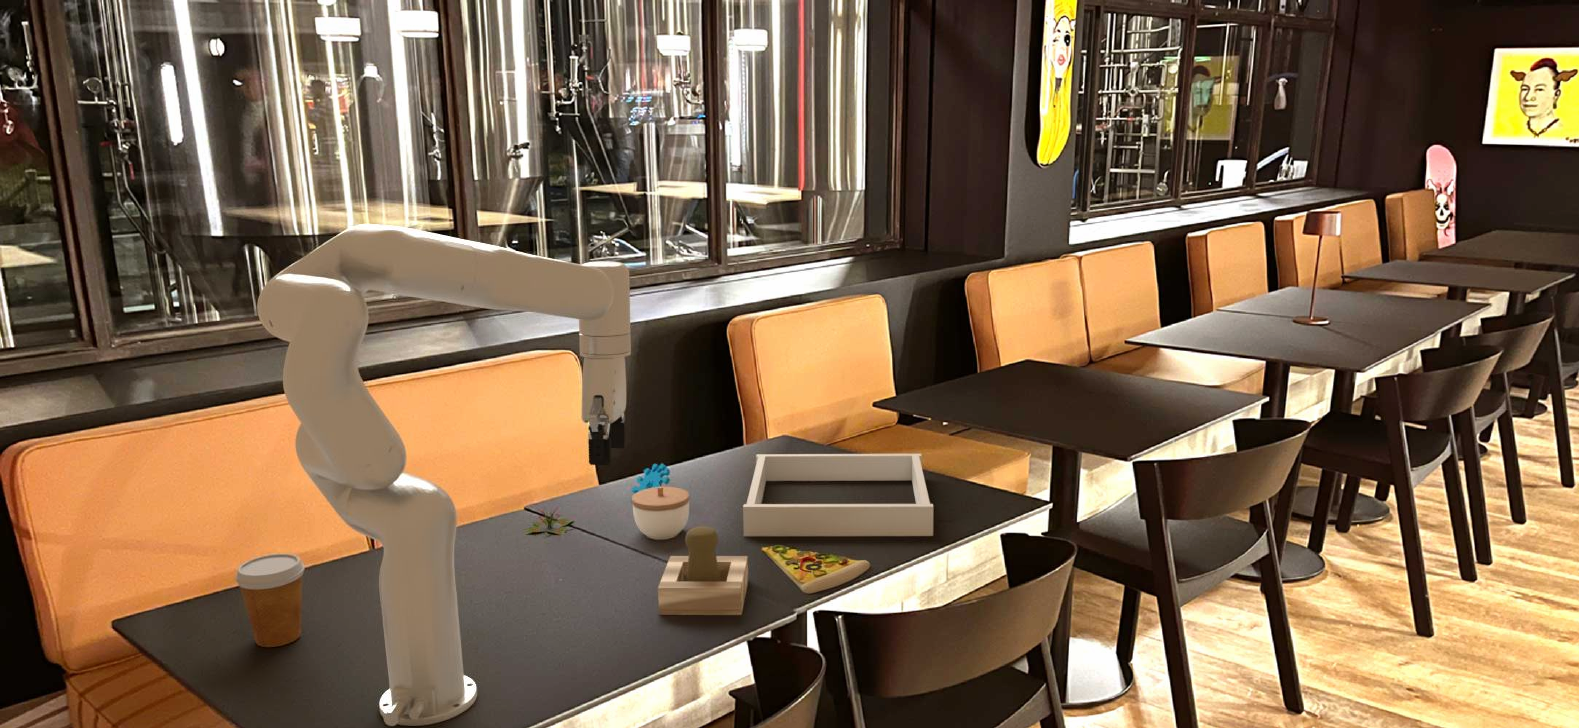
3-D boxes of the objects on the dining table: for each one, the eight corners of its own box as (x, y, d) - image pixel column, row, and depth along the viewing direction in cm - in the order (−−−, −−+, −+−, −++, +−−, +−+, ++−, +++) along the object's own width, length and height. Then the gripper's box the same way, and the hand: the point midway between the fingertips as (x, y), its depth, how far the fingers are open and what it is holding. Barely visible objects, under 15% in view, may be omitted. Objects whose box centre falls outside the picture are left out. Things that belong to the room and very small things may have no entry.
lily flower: (536, 547, 204) (534, 524, 203) (507, 530, 213) (505, 507, 212) (593, 532, 211) (591, 509, 210) (563, 515, 220) (561, 493, 220)
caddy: (741, 615, 173) (740, 588, 172) (659, 614, 174) (657, 588, 173) (748, 581, 186) (747, 556, 185) (671, 581, 187) (670, 556, 186)
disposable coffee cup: (293, 618, 175) (284, 547, 172) (324, 635, 169) (315, 561, 167) (232, 640, 168) (222, 566, 165) (262, 658, 162) (252, 582, 159)
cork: (680, 599, 177) (677, 535, 174) (690, 584, 183) (687, 521, 180) (717, 602, 176) (715, 536, 173) (726, 586, 182) (724, 523, 179)
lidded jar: (698, 540, 205) (696, 492, 203) (641, 549, 201) (639, 500, 199) (681, 521, 215) (680, 475, 213) (627, 529, 211) (625, 482, 209)
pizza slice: (813, 601, 180) (813, 583, 179) (730, 566, 194) (729, 550, 193) (877, 573, 190) (877, 556, 189) (793, 542, 205) (793, 527, 204)
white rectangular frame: (933, 537, 204) (933, 506, 203) (743, 537, 206) (743, 506, 204) (920, 480, 236) (920, 453, 235) (757, 481, 238) (756, 454, 237)
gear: (621, 497, 226) (649, 456, 229) (640, 511, 230) (668, 471, 232) (647, 511, 218) (676, 469, 220) (667, 525, 221) (695, 484, 223)
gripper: (594, 335, 174) (596, 441, 177) (565, 354, 157) (568, 471, 160) (641, 336, 173) (643, 442, 176) (617, 355, 156) (619, 472, 159)
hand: (607, 455), depth 168 cm, fingers open, 9 cm apart
